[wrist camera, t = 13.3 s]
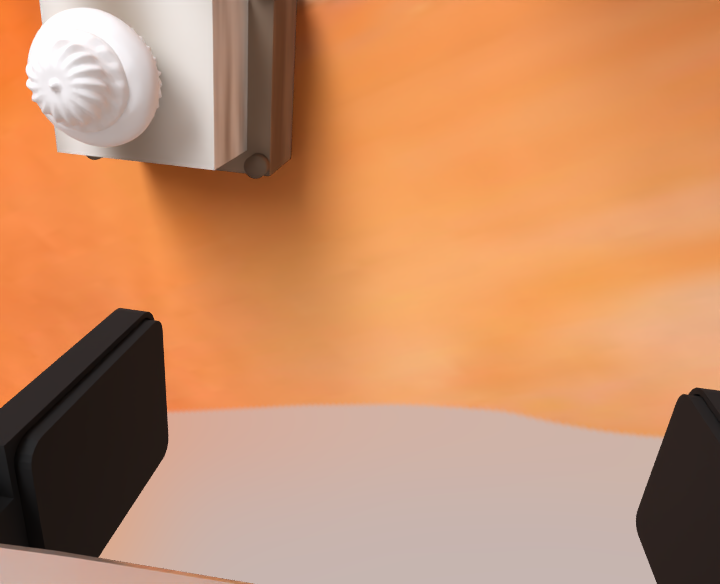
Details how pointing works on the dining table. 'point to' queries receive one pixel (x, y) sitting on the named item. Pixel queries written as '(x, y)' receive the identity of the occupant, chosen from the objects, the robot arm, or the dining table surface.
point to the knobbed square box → (208, 82)
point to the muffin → (93, 77)
